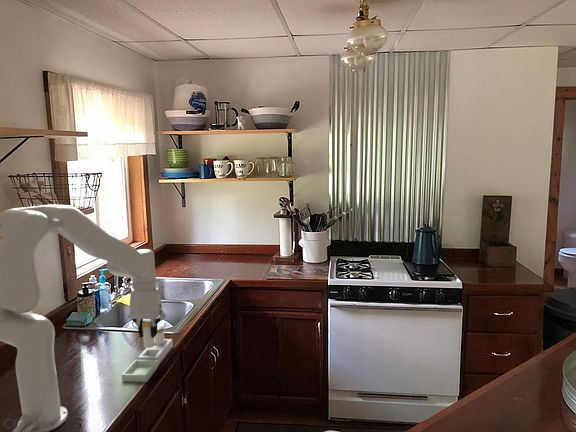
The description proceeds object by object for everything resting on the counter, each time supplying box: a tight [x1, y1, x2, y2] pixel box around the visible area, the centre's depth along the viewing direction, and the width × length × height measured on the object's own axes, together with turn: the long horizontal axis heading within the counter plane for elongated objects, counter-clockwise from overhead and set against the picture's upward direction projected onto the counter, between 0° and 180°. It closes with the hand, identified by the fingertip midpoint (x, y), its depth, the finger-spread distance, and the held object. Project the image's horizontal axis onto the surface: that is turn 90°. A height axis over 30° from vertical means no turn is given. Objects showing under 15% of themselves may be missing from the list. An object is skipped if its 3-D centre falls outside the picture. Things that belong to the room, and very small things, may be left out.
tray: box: [121, 359, 159, 383], centre depth 155 cm, size 10×8×2 cm
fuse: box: [154, 325, 166, 346], centre depth 172 cm, size 4×4×9 cm
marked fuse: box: [142, 319, 154, 349], centre depth 163 cm, size 4×4×9 cm
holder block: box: [137, 338, 174, 366], centre depth 168 cm, size 15×7×3 cm, turn 174°
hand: (148, 335), depth 163 cm, fingers closed on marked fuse, 3 cm apart
